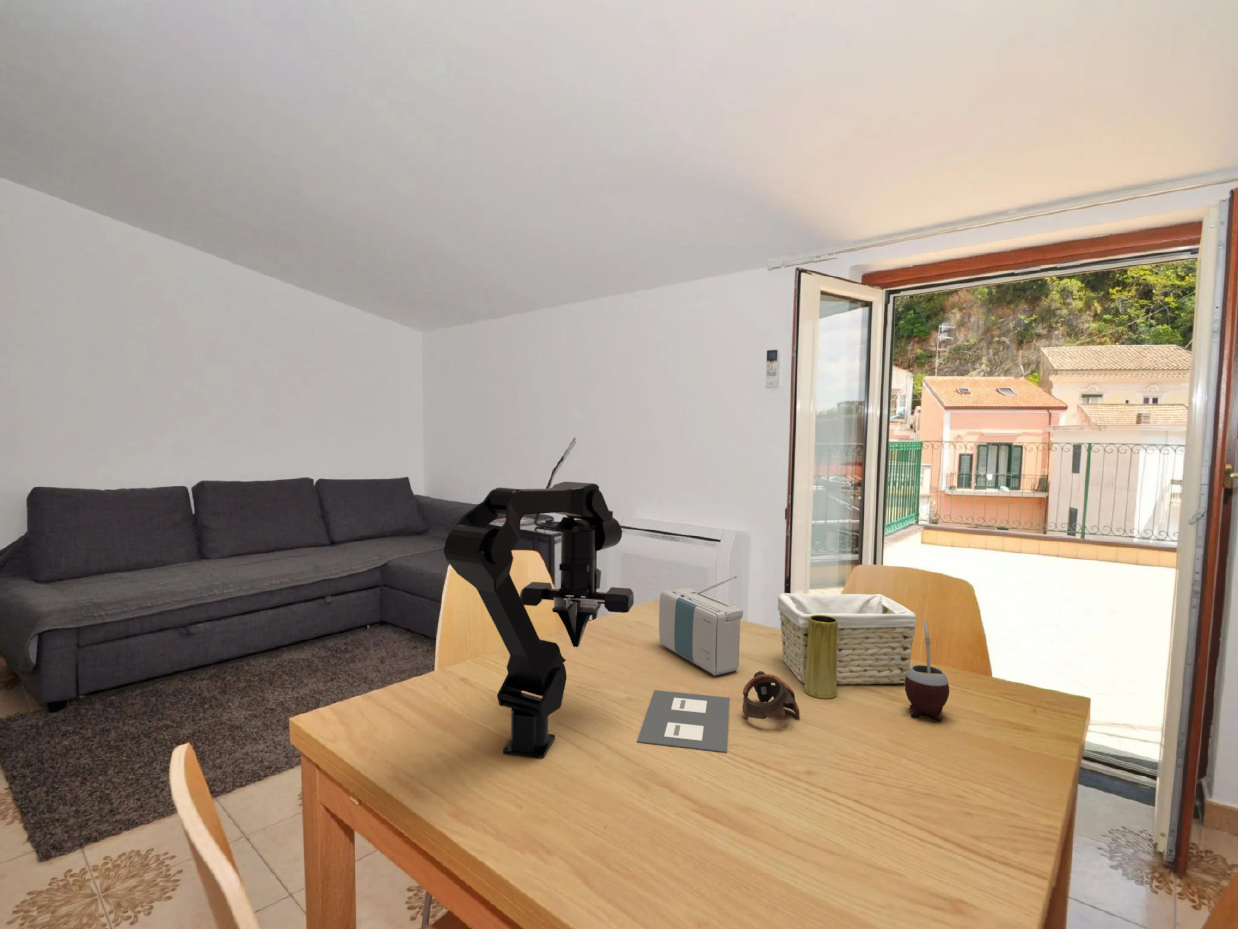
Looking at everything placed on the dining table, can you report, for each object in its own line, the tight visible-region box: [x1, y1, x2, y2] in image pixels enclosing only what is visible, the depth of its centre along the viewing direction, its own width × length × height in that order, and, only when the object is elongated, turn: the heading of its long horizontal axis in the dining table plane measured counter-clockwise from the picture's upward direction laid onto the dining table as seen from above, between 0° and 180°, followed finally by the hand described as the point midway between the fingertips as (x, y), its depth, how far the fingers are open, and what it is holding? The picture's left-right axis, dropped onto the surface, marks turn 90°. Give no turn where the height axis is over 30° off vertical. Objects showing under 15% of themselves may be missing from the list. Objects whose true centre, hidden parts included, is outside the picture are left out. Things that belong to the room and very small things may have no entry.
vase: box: [803, 615, 838, 700], centre depth 119 cm, size 6×6×14 cm
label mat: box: [636, 689, 730, 754], centre depth 107 cm, size 20×14×1 cm
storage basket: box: [777, 592, 917, 685], centre depth 129 cm, size 24×16×15 cm
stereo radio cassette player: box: [658, 575, 744, 677], centre depth 135 cm, size 21×8×20 cm, turn 28°
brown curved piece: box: [741, 670, 801, 720], centre depth 109 cm, size 12×10×8 cm
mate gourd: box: [904, 621, 950, 724], centre depth 110 cm, size 8×8×15 cm
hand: (576, 646), depth 107 cm, fingers closed
